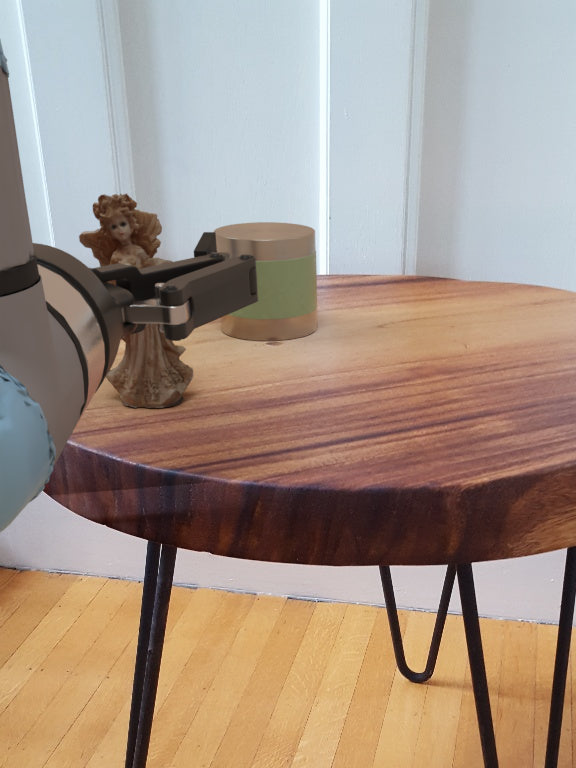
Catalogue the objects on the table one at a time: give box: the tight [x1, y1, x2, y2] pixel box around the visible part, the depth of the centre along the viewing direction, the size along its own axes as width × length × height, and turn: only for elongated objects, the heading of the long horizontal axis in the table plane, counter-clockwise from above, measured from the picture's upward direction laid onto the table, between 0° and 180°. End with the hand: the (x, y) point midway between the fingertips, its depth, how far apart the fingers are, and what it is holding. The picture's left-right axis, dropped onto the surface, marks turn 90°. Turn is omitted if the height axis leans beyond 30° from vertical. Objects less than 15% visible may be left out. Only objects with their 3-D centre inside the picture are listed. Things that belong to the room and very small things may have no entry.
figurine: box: [78, 193, 194, 409], centre depth 73 cm, size 7×6×15 cm
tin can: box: [213, 221, 318, 342], centre depth 93 cm, size 10×10×9 cm
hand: (106, 254), depth 62 cm, fingers open, 13 cm apart
